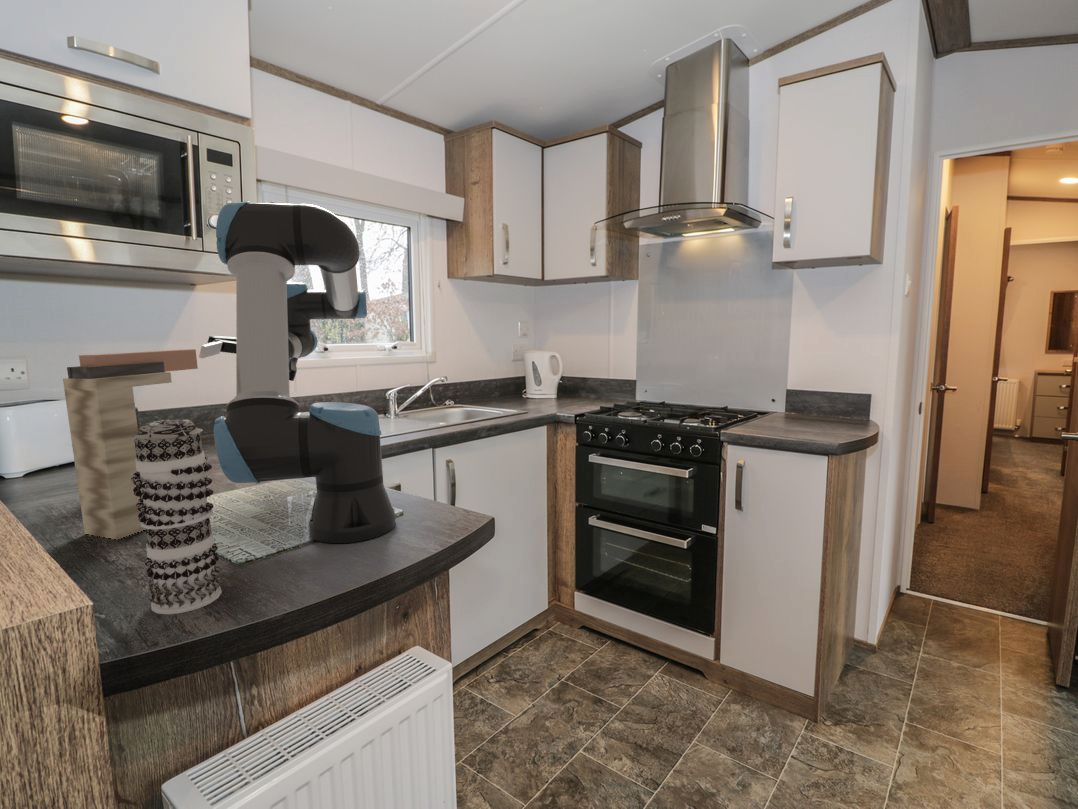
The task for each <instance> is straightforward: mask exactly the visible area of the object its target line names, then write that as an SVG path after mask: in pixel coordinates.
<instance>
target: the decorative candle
mask: <svg viewBox="0 0 1078 809" xmlns="http://www.w3.org/2000/svg"><path fill="white" fill-rule="evenodd" d="M203 431H204V429H202V428H198V427H197V426H196V425H195V423H194V422H193V421H192V420H189V419H186V418H185V419H184V418H176V419H162V420H155V421H150V422H147V423H144V424H141V425H140V428H139V430H138V432H137V434H136V435H134V436H132V437H131V439H134V441H135V450H136V457H137V458H136V459H135V462H136V470H137V472H135V473H134V474H133V477H132V478H131V480H132V481H133V483H134V484H135V485H136V487H134V488H133V491H134V495H135V496H138V497H140V499H139V500H138V502H137V504H136V506H137V507H138V510H139V511H141V512H140V513H139V514H138V517H139V521H140V522H141V527H143V528H146V530H145V535H146V542H147V543H146V545H145V546H146V555H147V556H146V557H145V558H144V565H145V566H147V567H148V568H147V569H146V570H145V572H146V577H147V578H149V579H148V581H147V583H146V586H147V590H148V591H149V593H148V599H149V602H151V604H150V607H151V611H152V612H154V613H155V614H158V615H176V614H183V613H188V612H191V611H195V610H199V609H200V608H203V607H205V606H208V605H210V604H212V603H213V602H215V601H216V600H218V599H219V598H220V596H221V595H222V593H223V591H222V588H221V585H220V584H221V583H222V579H221V576H220V572H221V569H220V566H219V565H218V564H217V562H218V561H219V559H220V558H219V556H218V553H216V552H217V551H218V549H219V547H218V545H217V543H216V542H215V538H214V533H213V531H212V530H211V529H212V526H211V520H210V518H211V516H213V514H214V510H213V508H214V507H215V506H214V504H213V503H211V502H209V501H208V497H210V496H211V495H213V494H214V490H212V489H210V488H208V486H209V485H211V484H212V482H213V479H212V478H209V477H208V476H207V475H206V477H205V473H206V472H207V473H208V471H210V470H212V467H213V466H212V465H211V464H209V463H207V462H206V461H207V460H208V459H209V458H208V456H205V454H206V453H205V451H204V450H203V446H202V445H203V443H202V438H201V437H202V436H201V435H202V433H201V432H203ZM140 479H141V480H140ZM140 489H142V492H141V490H140ZM144 514H145V515H144Z"/></svg>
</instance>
